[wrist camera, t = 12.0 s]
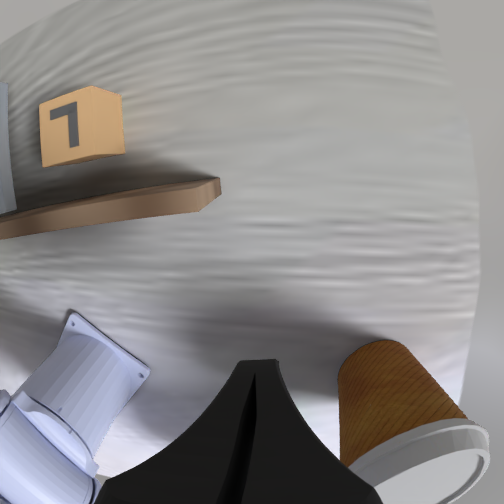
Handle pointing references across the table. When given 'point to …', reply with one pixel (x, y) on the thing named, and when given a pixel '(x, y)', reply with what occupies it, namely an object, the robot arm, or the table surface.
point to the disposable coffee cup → (406, 429)
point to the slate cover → (5, 156)
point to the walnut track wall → (113, 208)
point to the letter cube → (81, 127)
